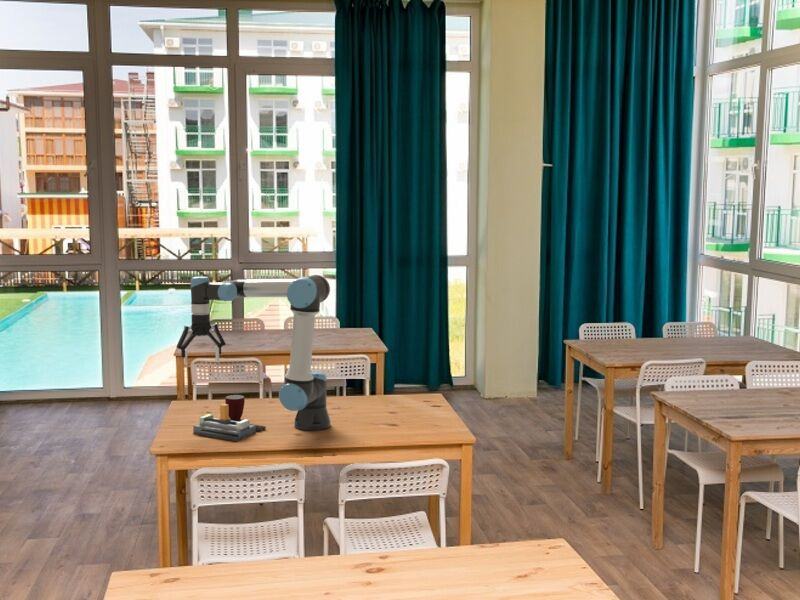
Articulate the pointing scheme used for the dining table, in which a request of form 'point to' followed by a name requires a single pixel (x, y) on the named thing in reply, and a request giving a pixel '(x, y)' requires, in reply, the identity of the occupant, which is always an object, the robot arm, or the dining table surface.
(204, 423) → the gray slotted base
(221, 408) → the lever
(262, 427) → the cord
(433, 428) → the dining table surface
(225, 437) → the cord
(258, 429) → the grey rod
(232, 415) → the mug
